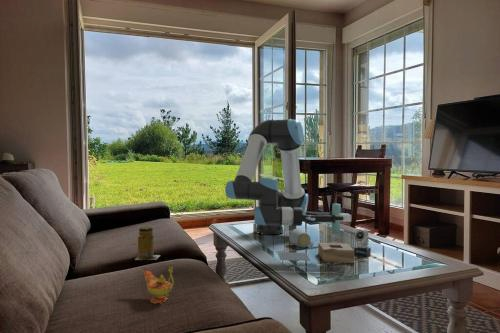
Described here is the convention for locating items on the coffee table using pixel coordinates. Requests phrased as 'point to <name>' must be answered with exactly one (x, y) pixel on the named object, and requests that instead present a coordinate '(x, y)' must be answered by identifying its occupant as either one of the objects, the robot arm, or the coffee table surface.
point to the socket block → (336, 252)
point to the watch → (362, 243)
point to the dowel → (337, 224)
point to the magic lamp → (158, 285)
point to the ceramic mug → (300, 238)
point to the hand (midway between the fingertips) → (349, 217)
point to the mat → (293, 256)
